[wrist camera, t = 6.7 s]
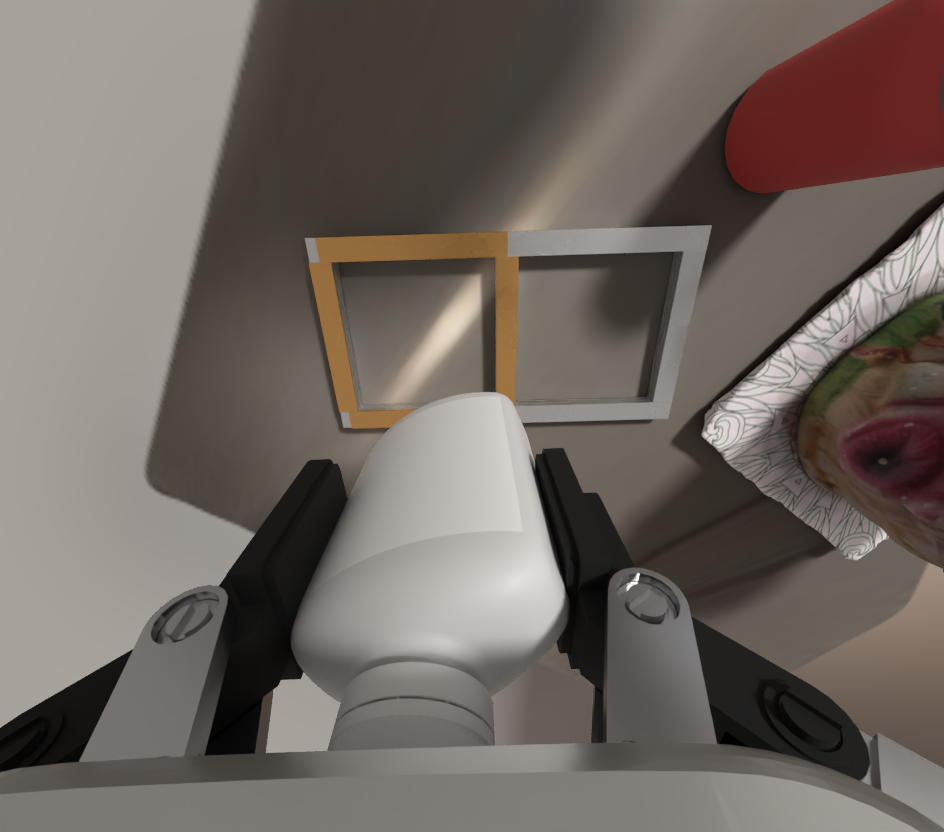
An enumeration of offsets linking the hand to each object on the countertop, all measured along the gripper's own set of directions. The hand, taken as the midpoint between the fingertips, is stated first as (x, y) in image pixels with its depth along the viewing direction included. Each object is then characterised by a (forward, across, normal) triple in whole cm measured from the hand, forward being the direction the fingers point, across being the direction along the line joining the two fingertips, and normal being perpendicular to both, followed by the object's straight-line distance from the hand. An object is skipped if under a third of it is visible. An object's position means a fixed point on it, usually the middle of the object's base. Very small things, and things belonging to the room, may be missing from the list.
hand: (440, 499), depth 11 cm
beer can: (+20, -20, -12) cm, 31 cm away
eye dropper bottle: (+4, 0, 0) cm, 4 cm away
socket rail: (+19, -4, 0) cm, 20 cm away
